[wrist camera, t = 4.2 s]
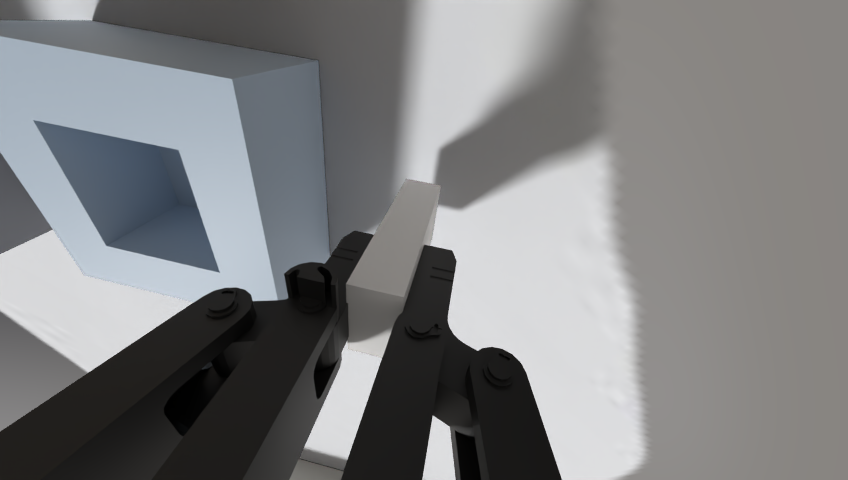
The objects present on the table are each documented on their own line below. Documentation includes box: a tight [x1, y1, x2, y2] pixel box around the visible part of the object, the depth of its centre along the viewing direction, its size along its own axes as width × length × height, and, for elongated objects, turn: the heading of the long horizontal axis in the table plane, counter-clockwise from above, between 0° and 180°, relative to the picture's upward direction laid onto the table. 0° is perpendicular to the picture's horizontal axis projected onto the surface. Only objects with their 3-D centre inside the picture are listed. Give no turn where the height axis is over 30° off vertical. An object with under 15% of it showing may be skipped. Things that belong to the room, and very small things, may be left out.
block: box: [0, 20, 330, 302], centre depth 14 cm, size 10×10×5 cm
